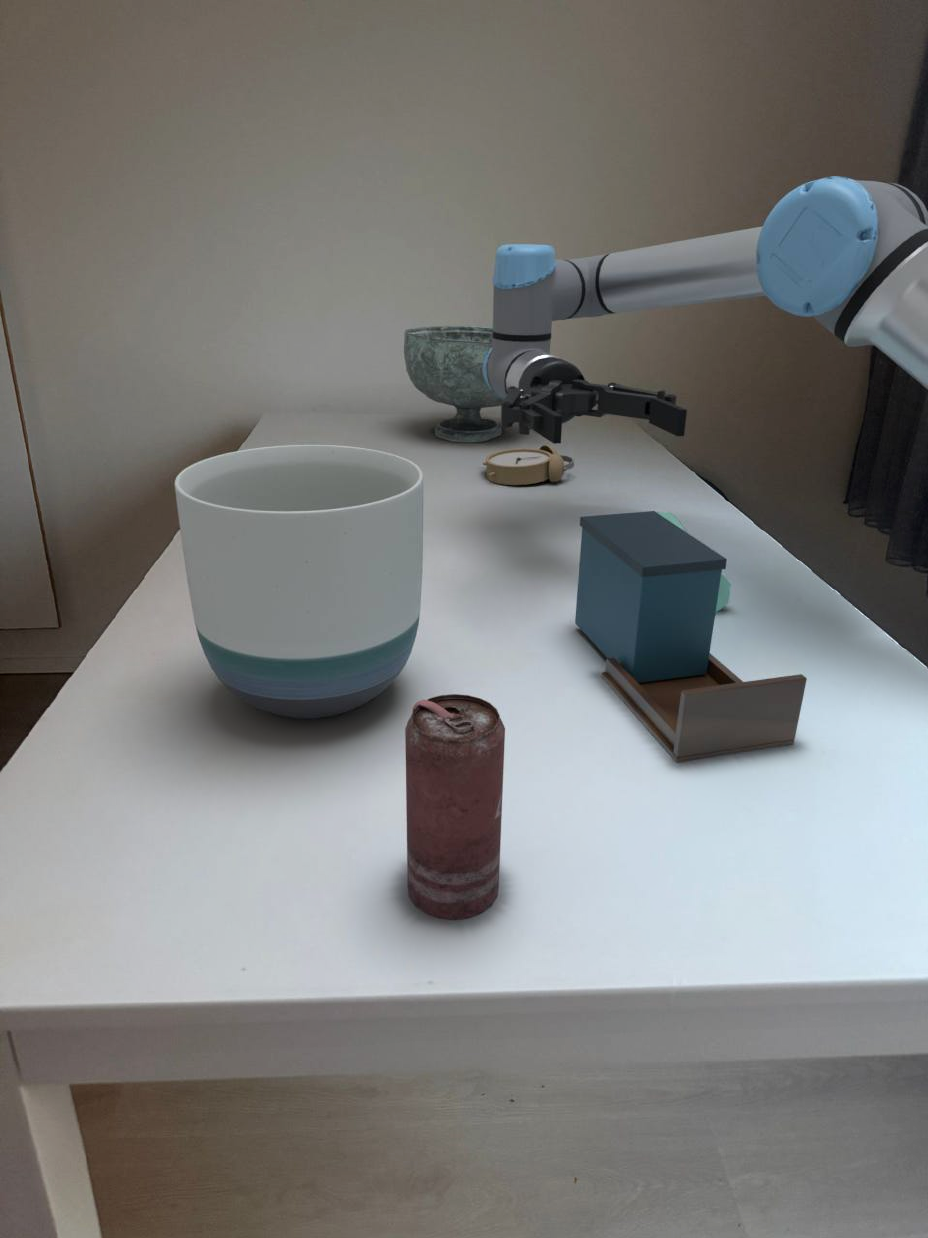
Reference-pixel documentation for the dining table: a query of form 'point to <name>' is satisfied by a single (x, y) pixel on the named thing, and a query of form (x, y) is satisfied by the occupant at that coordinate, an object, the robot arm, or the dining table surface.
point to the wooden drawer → (712, 710)
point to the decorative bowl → (454, 377)
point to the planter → (304, 572)
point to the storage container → (647, 594)
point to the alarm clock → (526, 466)
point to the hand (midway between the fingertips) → (621, 426)
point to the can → (454, 805)
